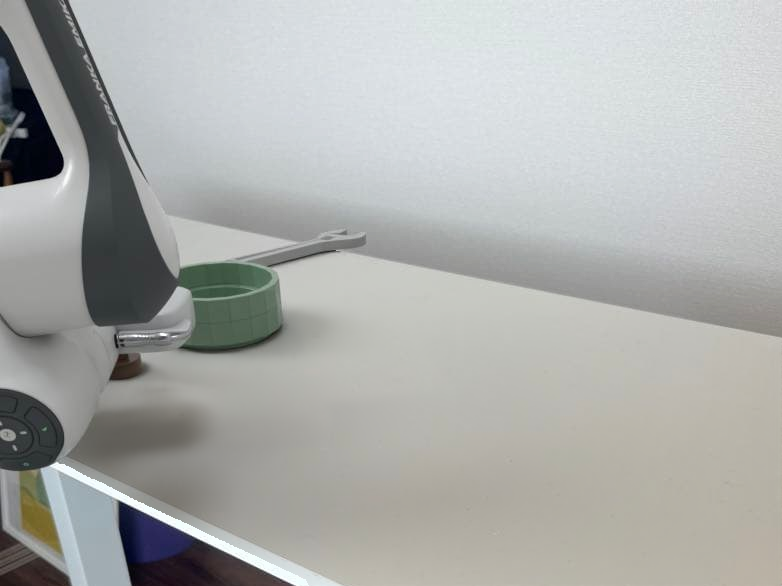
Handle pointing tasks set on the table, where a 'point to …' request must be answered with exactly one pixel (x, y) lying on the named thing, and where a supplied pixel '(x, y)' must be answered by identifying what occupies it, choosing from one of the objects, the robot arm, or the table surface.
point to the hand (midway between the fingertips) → (92, 291)
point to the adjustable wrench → (306, 248)
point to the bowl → (232, 303)
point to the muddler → (127, 366)
